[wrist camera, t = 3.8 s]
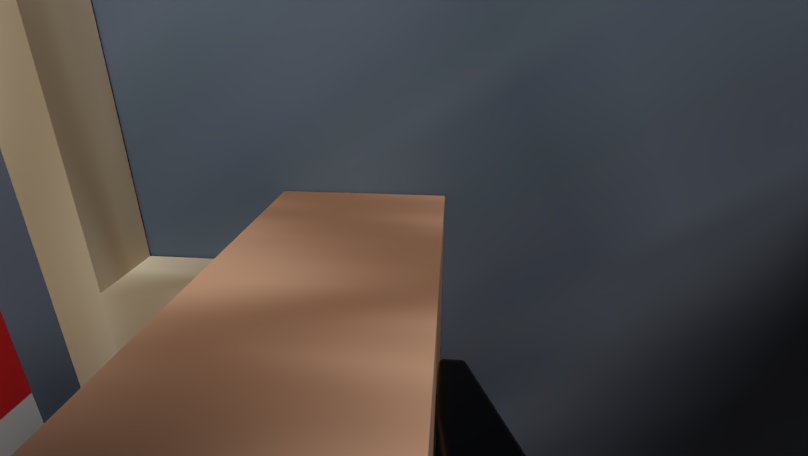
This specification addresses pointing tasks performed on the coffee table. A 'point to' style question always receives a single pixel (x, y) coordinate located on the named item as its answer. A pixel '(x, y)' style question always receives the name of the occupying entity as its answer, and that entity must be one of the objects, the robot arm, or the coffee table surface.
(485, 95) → the coffee table surface
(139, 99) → the coffee table surface
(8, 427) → the puzzle toy
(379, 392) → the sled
